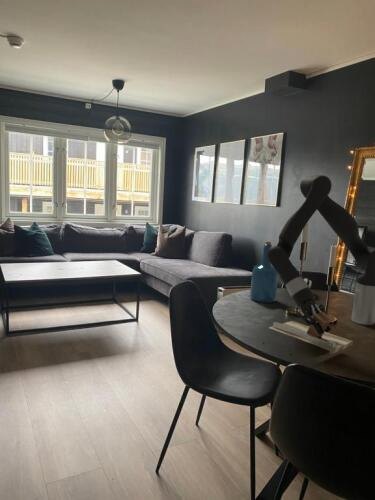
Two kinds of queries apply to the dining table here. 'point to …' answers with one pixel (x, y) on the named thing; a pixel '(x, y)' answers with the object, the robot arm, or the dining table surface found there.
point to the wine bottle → (264, 279)
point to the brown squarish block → (323, 321)
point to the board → (339, 341)
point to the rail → (304, 335)
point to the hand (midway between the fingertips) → (325, 332)
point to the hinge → (308, 282)
